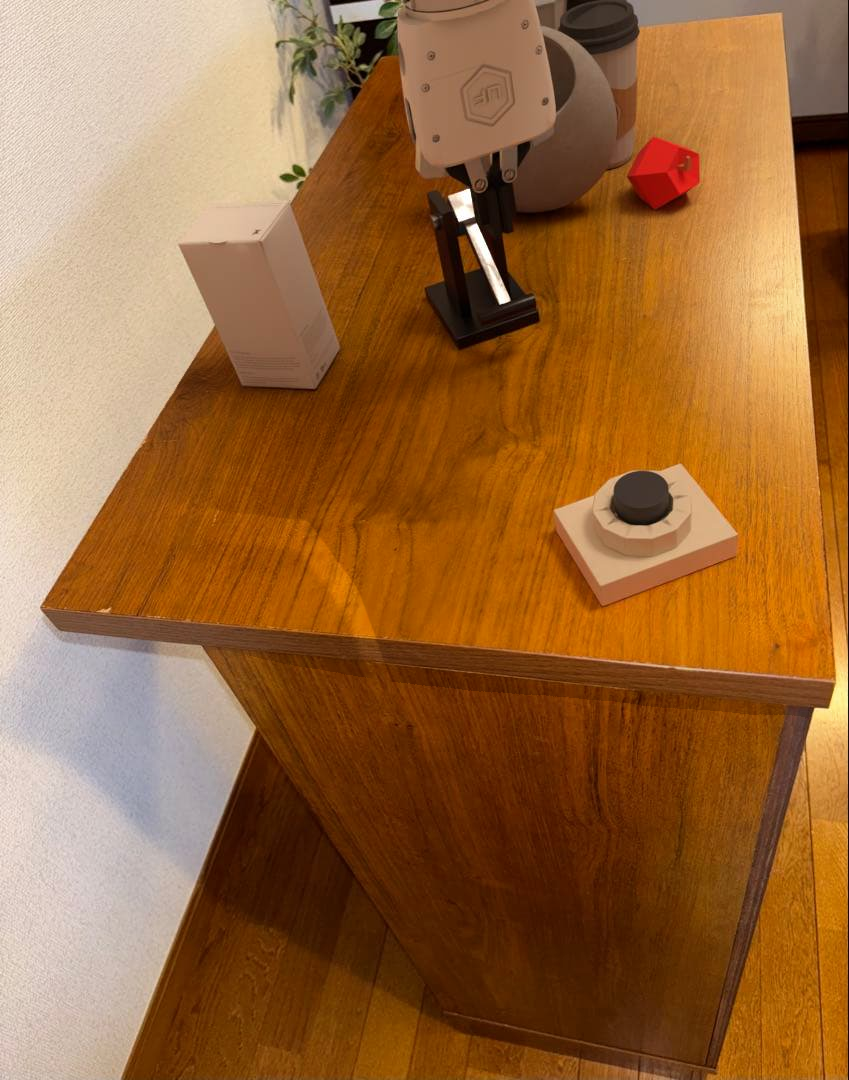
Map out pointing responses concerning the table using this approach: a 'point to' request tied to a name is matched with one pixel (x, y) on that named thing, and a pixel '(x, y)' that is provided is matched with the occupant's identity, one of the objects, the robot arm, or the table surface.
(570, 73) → the planter
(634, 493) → the button
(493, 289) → the lever
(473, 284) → the bracket
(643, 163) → the apple
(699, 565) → the block
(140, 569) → the table surface
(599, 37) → the coffee cup
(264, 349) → the cosmetic box
